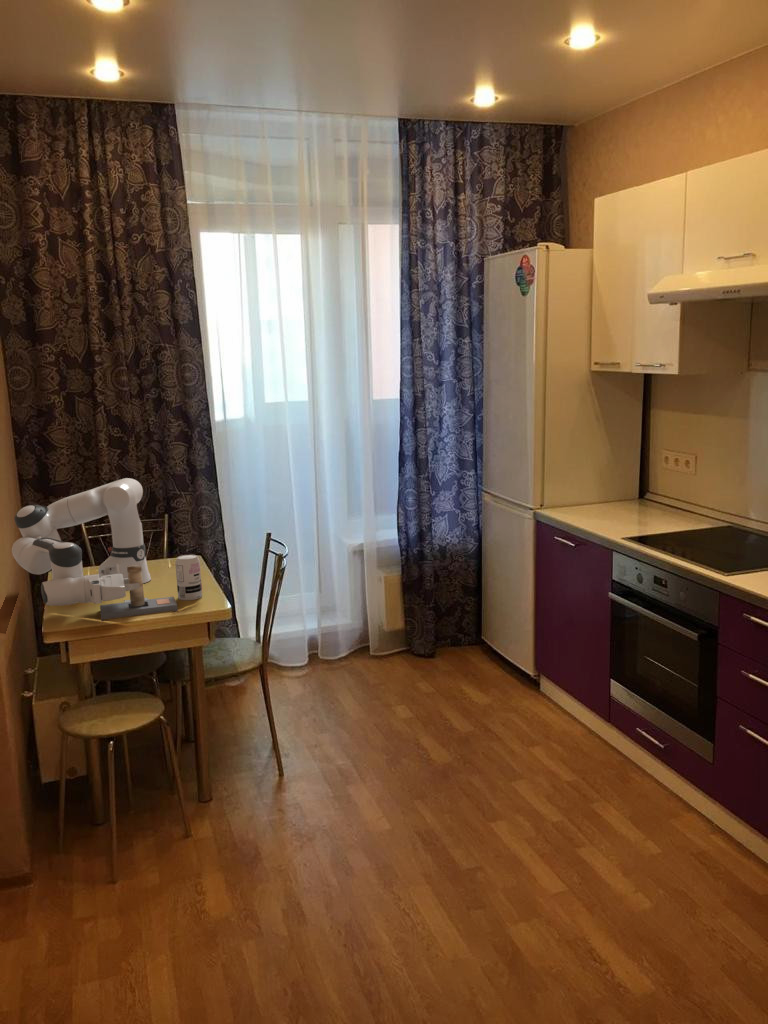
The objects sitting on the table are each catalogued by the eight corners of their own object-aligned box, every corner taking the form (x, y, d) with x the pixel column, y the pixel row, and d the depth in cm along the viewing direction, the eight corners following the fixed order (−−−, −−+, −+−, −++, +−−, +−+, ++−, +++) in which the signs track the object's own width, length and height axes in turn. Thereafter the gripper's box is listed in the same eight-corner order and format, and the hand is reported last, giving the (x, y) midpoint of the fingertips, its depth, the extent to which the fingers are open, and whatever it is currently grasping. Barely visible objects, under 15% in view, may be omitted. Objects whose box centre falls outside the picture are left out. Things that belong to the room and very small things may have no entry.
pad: (125, 608, 285) (125, 606, 285) (124, 602, 293) (124, 600, 293) (149, 605, 288) (149, 603, 288) (148, 599, 295) (147, 597, 295)
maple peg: (127, 605, 279) (124, 567, 276) (137, 602, 282) (134, 564, 280) (137, 607, 276) (134, 568, 274) (147, 603, 280) (144, 565, 278)
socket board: (101, 621, 271) (100, 613, 271) (100, 612, 281) (99, 604, 281) (177, 611, 279) (177, 604, 278) (174, 603, 289) (173, 595, 289)
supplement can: (182, 595, 298) (179, 554, 296) (205, 595, 298) (202, 554, 295) (174, 602, 291) (171, 559, 288) (198, 602, 290) (195, 559, 287)
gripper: (95, 589, 284) (137, 585, 289) (96, 605, 265) (141, 599, 270) (93, 571, 283) (136, 567, 288) (94, 585, 264) (139, 580, 269)
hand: (138, 583), depth 279 cm, fingers closed on maple peg, 4 cm apart
